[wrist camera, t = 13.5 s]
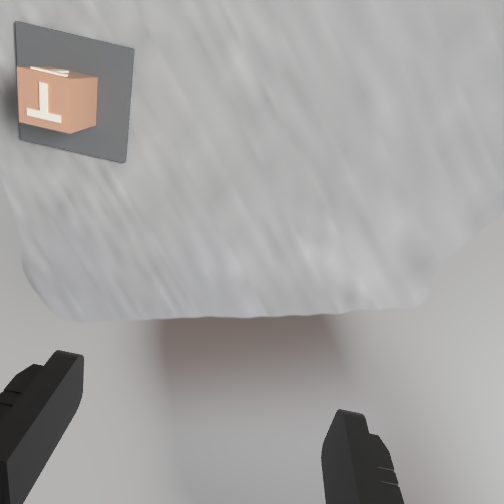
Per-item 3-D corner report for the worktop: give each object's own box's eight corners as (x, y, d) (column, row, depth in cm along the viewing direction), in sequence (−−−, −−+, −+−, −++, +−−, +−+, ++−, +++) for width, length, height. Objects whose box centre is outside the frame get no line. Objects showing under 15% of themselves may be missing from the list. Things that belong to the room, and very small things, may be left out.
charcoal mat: (18, 21, 40) (15, 20, 40) (134, 49, 41) (132, 48, 40) (23, 138, 45) (20, 139, 45) (125, 161, 46) (124, 163, 45)
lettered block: (50, 64, 41) (15, 64, 36) (97, 75, 42) (69, 76, 36) (51, 115, 44) (17, 122, 38) (95, 125, 44) (69, 134, 38)
